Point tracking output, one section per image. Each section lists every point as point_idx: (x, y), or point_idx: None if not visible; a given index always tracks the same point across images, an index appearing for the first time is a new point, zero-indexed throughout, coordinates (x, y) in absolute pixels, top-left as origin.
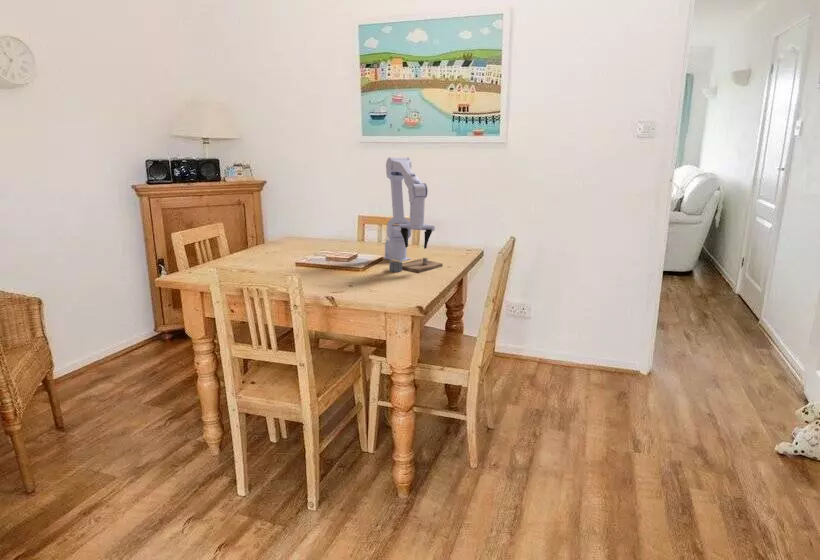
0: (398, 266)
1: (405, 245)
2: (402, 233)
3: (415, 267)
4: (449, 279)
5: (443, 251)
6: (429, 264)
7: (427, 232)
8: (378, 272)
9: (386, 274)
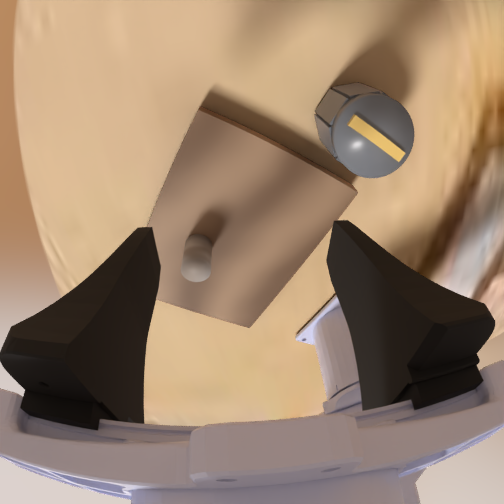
0: (345, 92)
1: (355, 226)
2: (460, 300)
3: (237, 165)
4: (18, 61)
5: (207, 413)
6: (176, 255)
7: (21, 346)
8: (432, 77)
9: (390, 37)
